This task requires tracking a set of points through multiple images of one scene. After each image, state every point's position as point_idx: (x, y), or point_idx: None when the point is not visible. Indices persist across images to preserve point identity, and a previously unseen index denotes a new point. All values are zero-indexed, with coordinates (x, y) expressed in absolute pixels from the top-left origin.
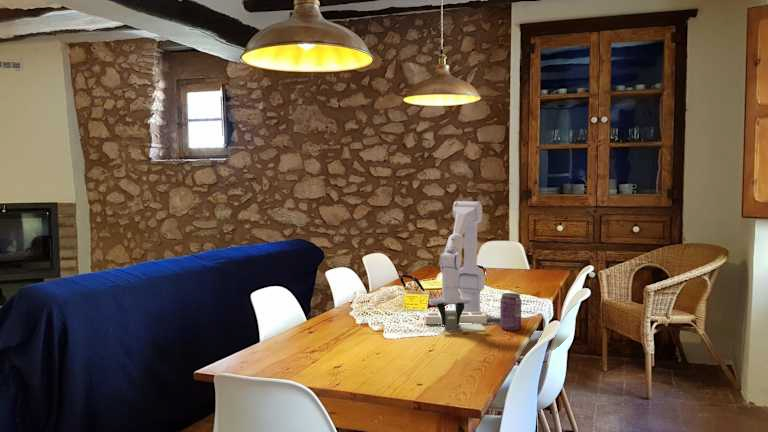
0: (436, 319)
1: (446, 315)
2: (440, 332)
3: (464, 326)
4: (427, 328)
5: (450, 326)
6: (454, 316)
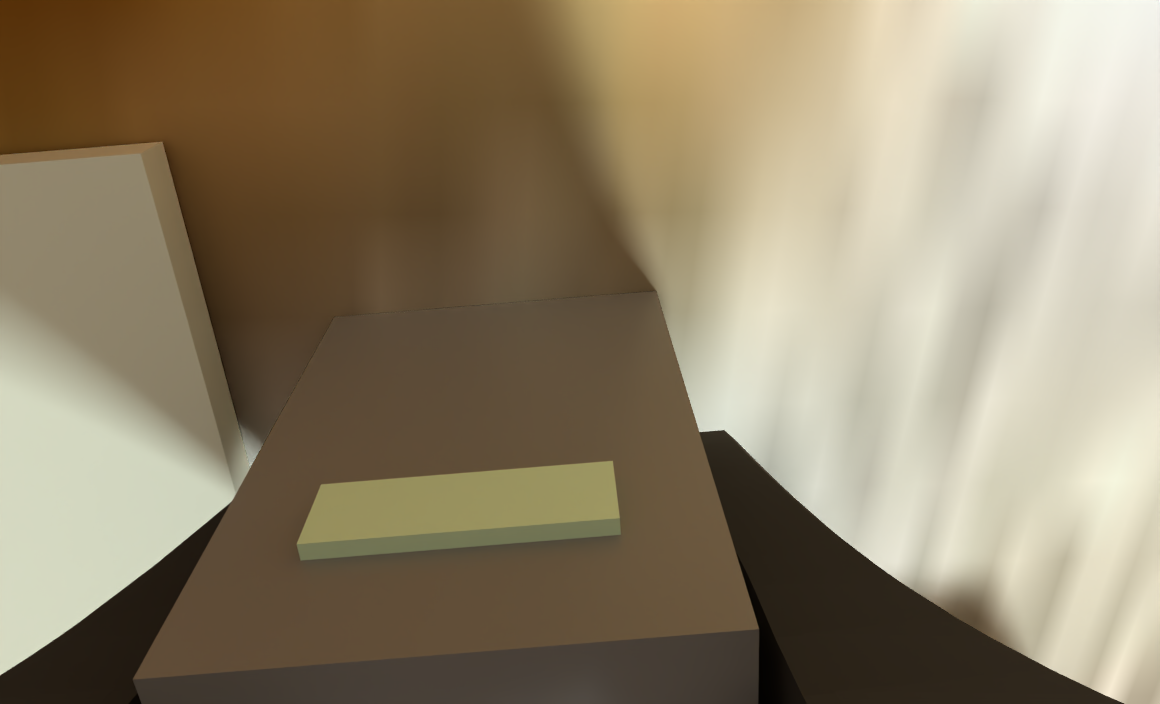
0: None
1: (694, 565)
2: (837, 70)
3: (122, 519)
4: (1096, 459)
5: (515, 345)
6: (314, 547)
